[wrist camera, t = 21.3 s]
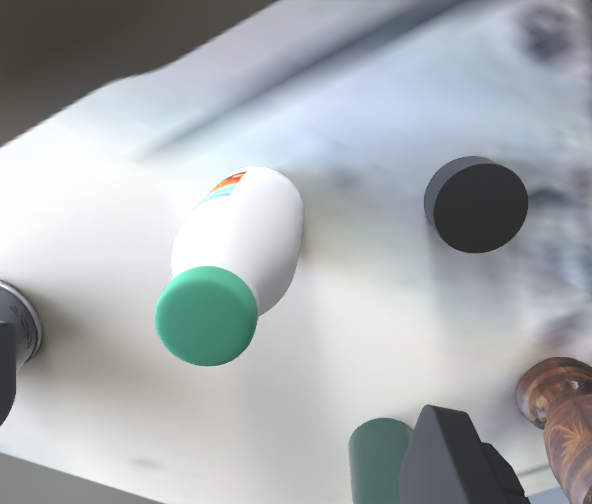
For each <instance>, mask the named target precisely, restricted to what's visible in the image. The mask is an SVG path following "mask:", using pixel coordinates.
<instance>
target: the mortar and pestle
mask: <svg viewBox="0 0 592 504" xmlns="http://www.w3.org/2000/svg"><path fill="white" fill-rule="evenodd" d="M516 399H517V404H518V407H519V410H520V412H521V413H522V414H523V415H524V416H525V417H526V418H527V419H528V420H529V421H530V422H531V423H532V424H534V425H535V426H536V427H538V428H541V429H544V443H545V447H546V452H547V456H548V460H549V464H550V467H551V469H552V471H553V474H554V476H555V478H556V480H557V481H558V483H559V485H560V487H561V489H562V490H563V492H564V494H565V495H566V497H567V498H568V500H569V501H570V503H571V504H592V368H591V367H590V366H589V365H587V364H585V363H583V362H580V361H578V360H575V359H571V358H565V357H564V358H558V357H556V358H550V359H547V360H544V361H542V362H540V363H538V364H537V365H535V366H533V367H532V368H531V369H530V370H529V371H528V372H527V373H525V374H524V376H523V377H522V378H521V380H520V381H519V383H518V386H517V389H516Z"/></svg>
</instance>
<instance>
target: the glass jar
mask: <svg viewBox="0 0 592 504" xmlns="http://www.w3.org/2000/svg"><path fill="white" fill-rule="evenodd" d="M412 434H413V430H412V429H411V428H410V427H409V426H408V425H406V424H405V423H403V422H401V421H398V420H395V419H389V418H380V419H374V420H371V421H368V422H366V423H364V424H362V425H361V426H359V427H358V428H357V429H356V430H355V431H354V433H353V434H352V436H351V438H350V440H349V446H348V449H349V462H350V475H351V488H352V501H353V504H401V503H400V498H399V472H400V467H401V464H402V461H403V458H404V455H405V453H406V450H407V447H408V445H409V442H410V439H411V437H412Z"/></svg>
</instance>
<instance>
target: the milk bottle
mask: <svg viewBox="0 0 592 504" xmlns="http://www.w3.org/2000/svg"><path fill="white" fill-rule="evenodd" d="M302 227H303V204H302V200H301V197H300V195H299V193H298V191H297V189H296V188H295V186H294V185H293V184H292V182H291V181H290V180H289V179H287V178H286V177H285V176H284V175H282V174H281V173H279V172H277V171H275V170H272V169H269V168H265V167H255V166H254V167H246V168H242V169H239V170H237V171H235V172H233V173H231V174H230V175H228V176H227V177H226V178H225V179H223V180H222V181H221V182H220V183H219V184H218V185H217V186H216V187H215V188H214V189H213V190H212V191H211V192H210V193H209V194H208V195H207V196H206V197H205V198H204V199H203V200H202V201H201V203H200V204H199V205H198V206H197V207H196V208H195V209H194V210H193V211H192V213H191V214H190V215H189V216H188V218H187V219H186V220H185V221H184V223H183V225H182V226H181V228H180V230H179V232H178V235H177V237H176V240H175V243H174V247H173V252H172V272H173V278H172V280H171V281H170V282H169V283H168V285H167V286H166V287H165V288H164V290H163V292H162V293H161V295H160V297H159V299H158V301H157V304H156V308H155V315H154V321H155V327H156V331H157V334H158V336H159V338H160V340H161V341H162V343H163V344H164V346H165V347H166V348H167V349H168V350H169V351H170V352H171V353H172V354H174V355H175V356H176V357H178V358H180V359H181V360H183V361H185V362H188V363H191V364H194V365H199V366H218V365H222V364H225V363H228V362H230V361H232V360H234V359H235V358H237V357H238V356H239V355H240V354H241V353H242V352H243V351H244V350H245V349H246V348H247V347H248V345H249V344H250V342H251V340H252V338H253V335H254V332H255V329H256V325H257V320H258V317H259V316H260V315H262V314H264V313H265V312H267V311H268V310H270V309H271V308H272V307H273V306H274V305H276V304H277V302H278V301H279V300H280V299H281V298H282V297H283V295H284V294H285V293H286V291H287V289H288V287H289V285H290V283H291V281H292V279H293V276H294V273H295V269H296V265H297V261H298V256H299V249H300V243H301V235H302Z"/></svg>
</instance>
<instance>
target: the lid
mask: <svg viewBox="0 0 592 504" xmlns="http://www.w3.org/2000/svg"><path fill="white" fill-rule="evenodd" d="M424 209H425V213H426V216H427V219H428V221H429V222H430V224H431V225H432V227H433V228H434V229H435V230H436V232H437V233H438V234H439V236H440V237H441V238H442V239H443V240H444V241H445V242H446V243H447V244H448V245H449V246H451V247H453V248H454V249H457V250H459V251H462V252H466V253H484V252H489V251H492V250H495V249H497V248H499V247H501V246H503V245H504V244H506V243H507V242H508V241H510V240H511V239H512V238H513V237H514V236H515V235H516V234H517V232H518V231H519V230H520V228H521V227H522V225H523V223H524V221H525V218H526V215H527V210H528V195H527V192H526V189H525V186H524V184H523V183H522V181H521V179H520V178H519V177H518V176H517V175H516V174H515V173H514V172H513V171H511V170H510V169H508V168H506V167H504V166H502V165H499V164H497V163H495V162H493V161H491V160H488V159H486V158H482V157H476V156H469V157H462V158H458V159H456V160H453V161H451V162H449V163H447V164H446V165H444V166H443V167H442V168H441V169H439V170H438V171H437V172H436V173H435V175H434V176H433V177H432V179H431V180H430V182H429V184H428V186H427V189H426V192H425V196H424Z"/></svg>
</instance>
